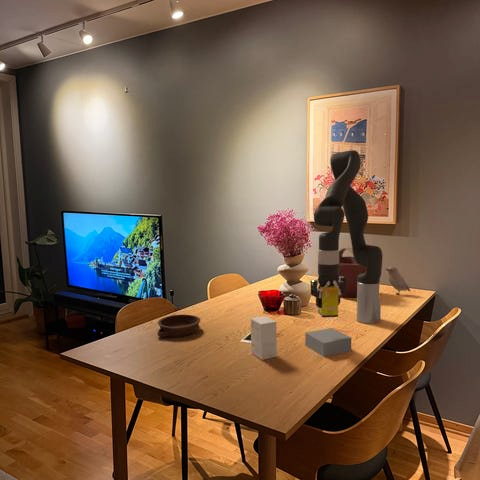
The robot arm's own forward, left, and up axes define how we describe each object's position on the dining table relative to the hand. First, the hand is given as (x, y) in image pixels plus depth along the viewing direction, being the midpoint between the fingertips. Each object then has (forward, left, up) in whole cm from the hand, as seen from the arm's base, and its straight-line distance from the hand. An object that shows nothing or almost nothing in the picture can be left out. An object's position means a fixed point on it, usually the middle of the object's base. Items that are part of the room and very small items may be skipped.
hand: (328, 306), depth 167 cm
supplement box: (0, 0, -4) cm, 4 cm away
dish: (+44, -43, -17) cm, 64 cm away
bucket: (-53, -58, -16) cm, 80 cm away
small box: (+24, -5, -16) cm, 29 cm away
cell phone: (+18, -23, -17) cm, 34 cm away
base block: (0, 0, -16) cm, 16 cm away
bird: (-76, -46, -16) cm, 90 cm away
